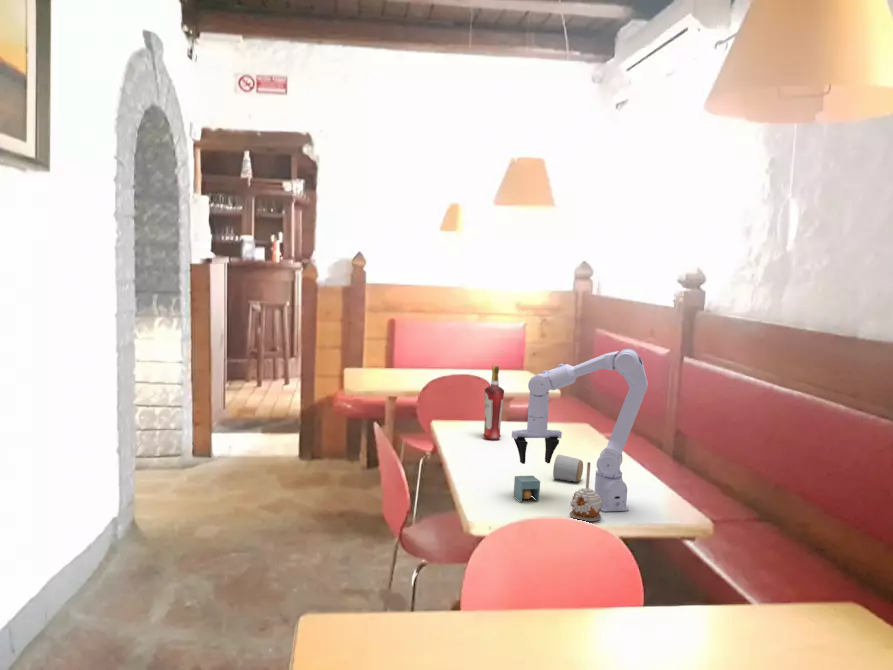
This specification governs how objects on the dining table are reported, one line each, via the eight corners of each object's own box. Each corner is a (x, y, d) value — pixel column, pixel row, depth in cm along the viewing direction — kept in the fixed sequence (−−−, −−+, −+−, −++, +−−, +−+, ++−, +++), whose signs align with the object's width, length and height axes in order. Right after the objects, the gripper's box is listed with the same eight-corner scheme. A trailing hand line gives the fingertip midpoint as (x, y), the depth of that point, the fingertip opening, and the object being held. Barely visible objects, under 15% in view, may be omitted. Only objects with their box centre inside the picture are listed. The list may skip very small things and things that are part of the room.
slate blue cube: (538, 502, 210) (540, 481, 210) (520, 502, 209) (521, 481, 208) (531, 496, 215) (532, 475, 215) (513, 496, 214) (514, 476, 213)
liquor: (479, 436, 288) (483, 364, 286) (497, 436, 291) (501, 364, 288) (486, 441, 281) (490, 367, 279) (504, 440, 284) (508, 367, 281)
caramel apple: (564, 514, 201) (568, 459, 199) (590, 512, 203) (593, 458, 202) (580, 524, 193) (584, 467, 192) (606, 521, 196) (609, 465, 195)
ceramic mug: (578, 485, 229) (580, 460, 228) (552, 481, 232) (553, 456, 231) (584, 477, 239) (586, 453, 238) (559, 473, 242) (561, 450, 241)
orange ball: (533, 500, 211) (533, 490, 211) (523, 501, 210) (523, 490, 210) (529, 497, 214) (529, 487, 214) (519, 497, 213) (519, 487, 213)
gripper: (555, 413, 220) (553, 458, 221) (509, 413, 216) (506, 459, 217) (565, 418, 213) (562, 465, 214) (517, 418, 209) (514, 466, 210)
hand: (535, 462), depth 215 cm, fingers open, 7 cm apart
